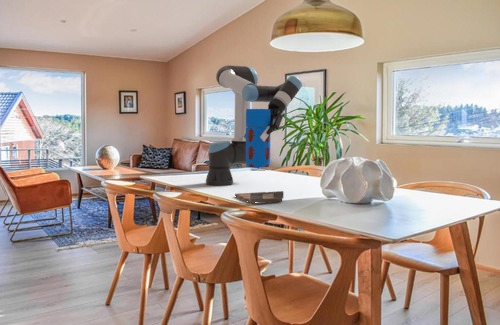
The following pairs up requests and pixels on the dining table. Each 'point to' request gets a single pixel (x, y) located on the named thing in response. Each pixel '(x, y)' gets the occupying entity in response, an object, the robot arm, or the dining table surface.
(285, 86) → the robot arm
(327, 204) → the dining table surface
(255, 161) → the blue tall block
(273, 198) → the shelf board
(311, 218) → the dining table surface
